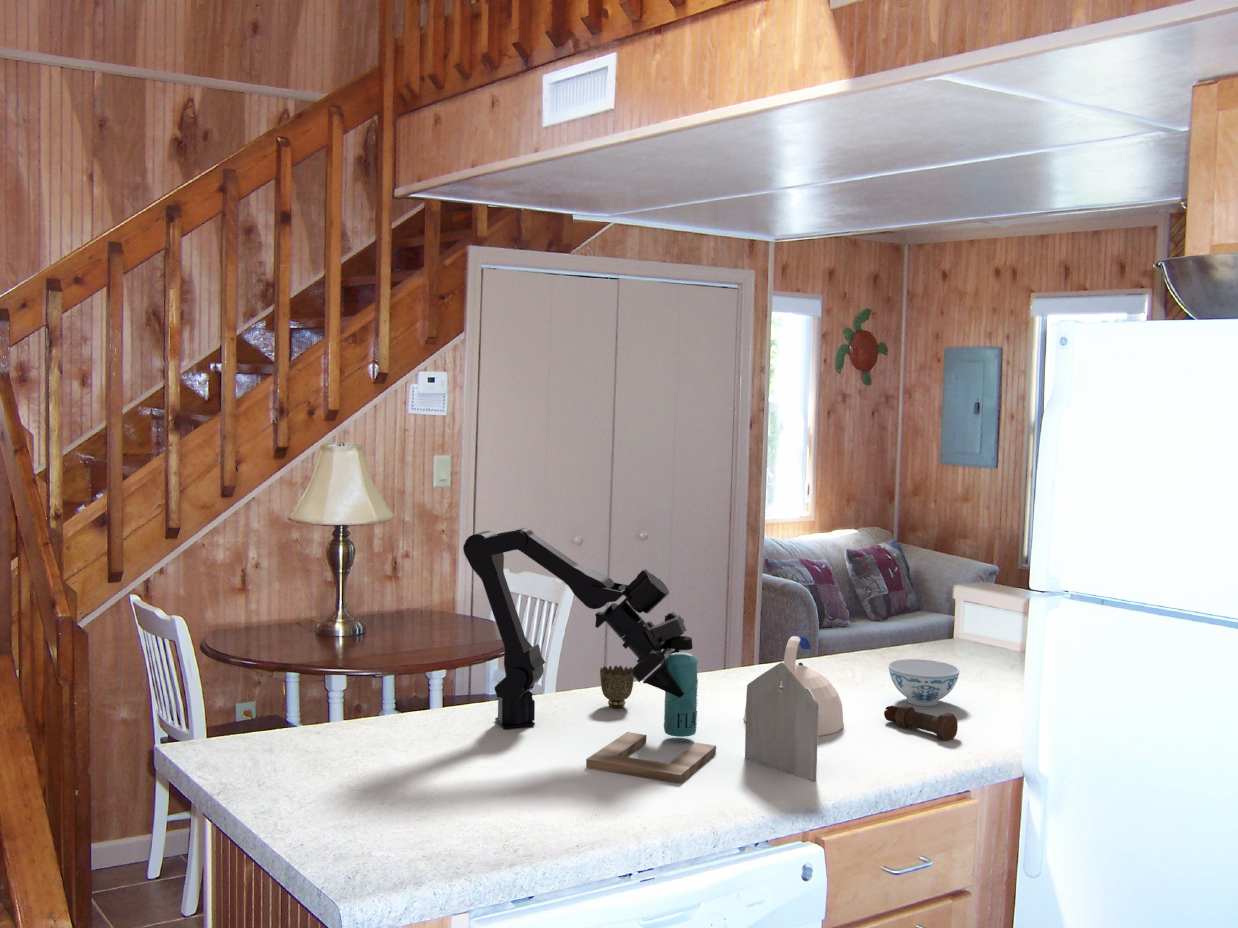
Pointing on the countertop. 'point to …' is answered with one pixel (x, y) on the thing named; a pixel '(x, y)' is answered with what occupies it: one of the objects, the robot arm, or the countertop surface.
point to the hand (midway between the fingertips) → (686, 689)
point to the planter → (782, 723)
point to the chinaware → (923, 680)
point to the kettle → (815, 688)
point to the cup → (616, 684)
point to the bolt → (923, 721)
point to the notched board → (675, 771)
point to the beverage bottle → (682, 708)
